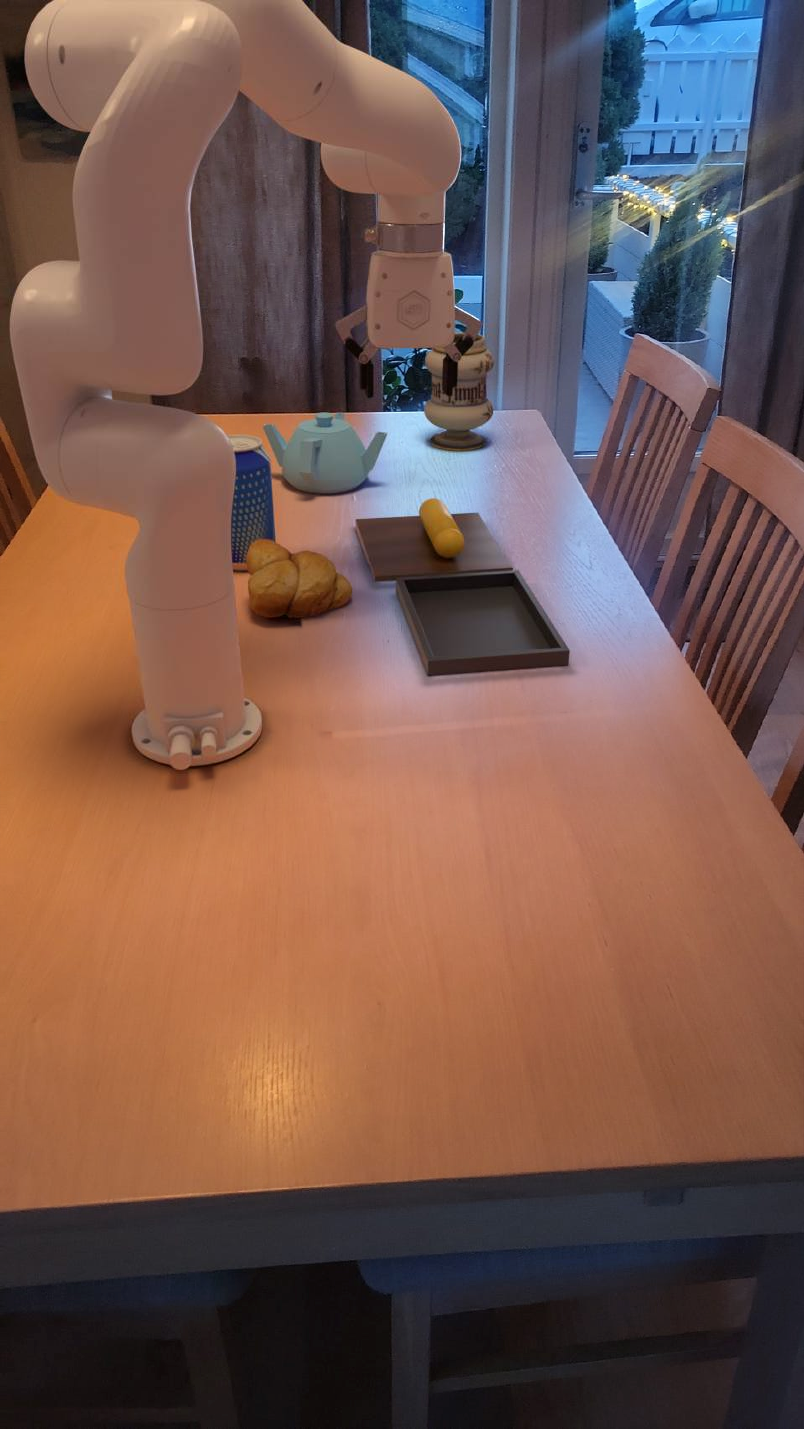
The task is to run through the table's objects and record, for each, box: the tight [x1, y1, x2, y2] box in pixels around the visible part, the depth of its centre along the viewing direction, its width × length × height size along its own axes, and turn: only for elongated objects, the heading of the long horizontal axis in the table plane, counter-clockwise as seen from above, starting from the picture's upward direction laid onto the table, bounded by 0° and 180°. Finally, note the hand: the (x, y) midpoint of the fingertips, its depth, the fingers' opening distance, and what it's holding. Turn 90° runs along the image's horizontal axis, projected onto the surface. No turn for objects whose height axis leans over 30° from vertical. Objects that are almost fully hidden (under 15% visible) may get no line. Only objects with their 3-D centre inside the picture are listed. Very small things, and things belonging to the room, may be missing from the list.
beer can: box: [226, 434, 277, 571], centre depth 133 cm, size 8×8×16 cm
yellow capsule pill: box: [418, 497, 464, 558], centre depth 138 cm, size 15×4×4 cm
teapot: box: [262, 411, 388, 495], centre depth 162 cm, size 15×15×11 cm
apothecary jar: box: [423, 332, 495, 452], centre depth 177 cm, size 12×12×18 cm
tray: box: [395, 569, 571, 677], centre depth 119 cm, size 22×16×3 cm
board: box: [354, 512, 514, 582], centre depth 140 cm, size 20×18×2 cm
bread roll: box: [246, 538, 353, 619], centre depth 123 cm, size 13×10×8 cm
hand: (408, 394), depth 124 cm, fingers open, 9 cm apart
